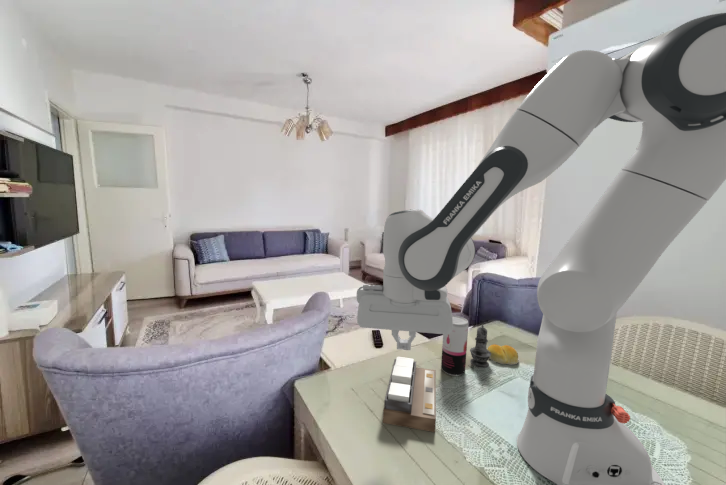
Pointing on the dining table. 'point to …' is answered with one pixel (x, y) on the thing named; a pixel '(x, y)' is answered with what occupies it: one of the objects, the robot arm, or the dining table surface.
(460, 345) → the beverage can
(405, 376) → the button middle
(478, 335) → the grey tiered upright piece
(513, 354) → the bread roll
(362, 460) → the dining table surface
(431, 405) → the button board
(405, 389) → the button near
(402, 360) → the button far
